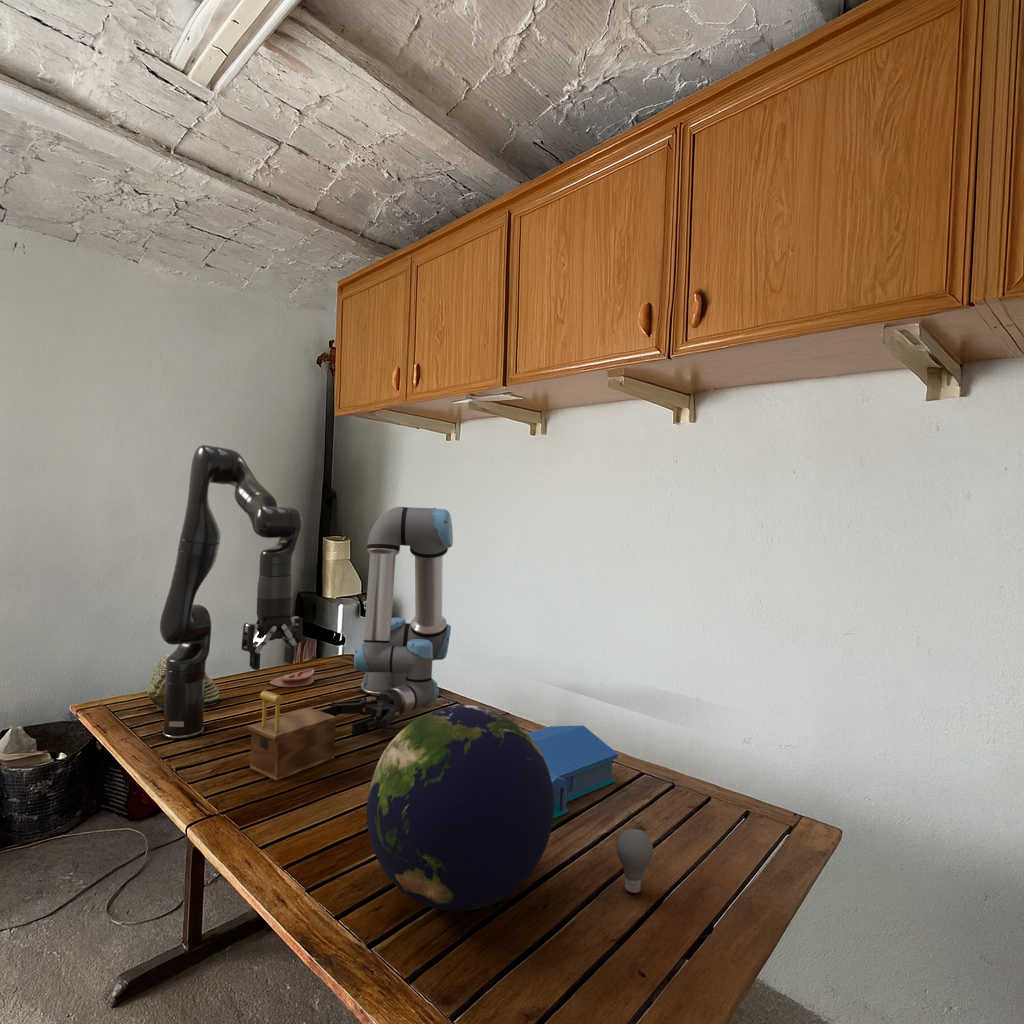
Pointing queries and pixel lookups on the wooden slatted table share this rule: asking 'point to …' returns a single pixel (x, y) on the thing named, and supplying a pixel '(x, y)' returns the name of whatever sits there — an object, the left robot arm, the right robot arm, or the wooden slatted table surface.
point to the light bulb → (634, 857)
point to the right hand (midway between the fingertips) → (334, 723)
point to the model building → (574, 762)
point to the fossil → (158, 687)
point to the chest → (292, 751)
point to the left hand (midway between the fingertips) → (272, 665)
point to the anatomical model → (294, 679)
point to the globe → (460, 808)
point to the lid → (287, 719)
